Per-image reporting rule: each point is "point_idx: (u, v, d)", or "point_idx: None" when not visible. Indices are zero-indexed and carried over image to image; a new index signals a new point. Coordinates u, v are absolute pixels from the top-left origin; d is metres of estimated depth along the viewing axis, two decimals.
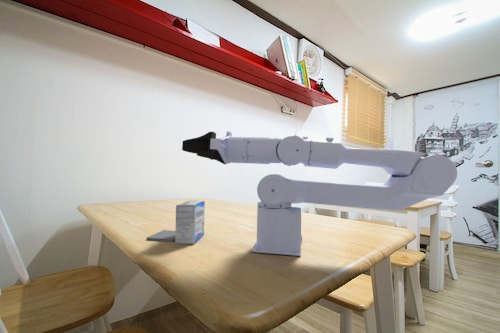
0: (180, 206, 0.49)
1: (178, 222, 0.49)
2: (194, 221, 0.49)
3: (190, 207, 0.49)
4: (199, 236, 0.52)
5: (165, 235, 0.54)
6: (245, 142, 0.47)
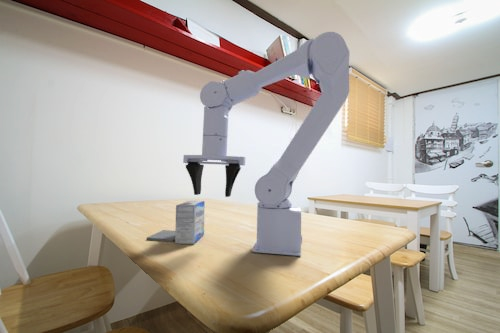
0: (180, 206, 0.49)
1: (178, 222, 0.49)
2: (194, 221, 0.49)
3: (190, 207, 0.49)
4: (199, 236, 0.52)
5: (165, 235, 0.54)
6: None
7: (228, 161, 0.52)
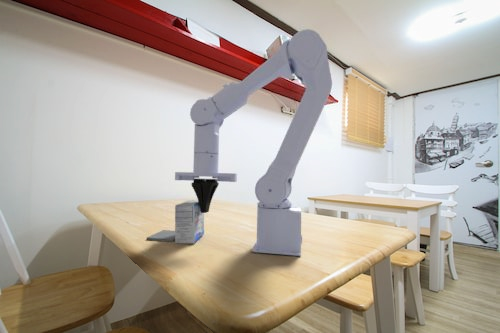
0: (179, 206, 0.49)
1: (178, 222, 0.49)
2: (193, 221, 0.49)
3: (189, 206, 0.49)
4: (199, 235, 0.52)
5: (165, 235, 0.54)
6: None
7: (219, 178, 0.52)
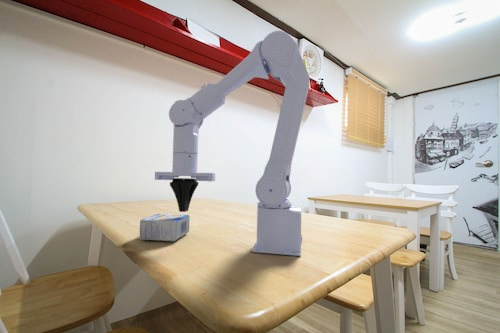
0: (140, 234, 0.50)
1: (155, 236, 0.50)
2: (155, 221, 0.50)
3: (141, 224, 0.50)
4: (180, 217, 0.53)
5: None
6: None
7: (198, 177, 0.53)
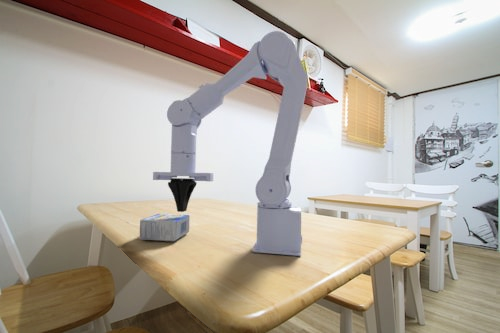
0: (140, 234, 0.50)
1: (155, 236, 0.50)
2: (155, 221, 0.50)
3: (141, 224, 0.50)
4: (180, 217, 0.53)
5: None
6: None
7: (196, 177, 0.53)
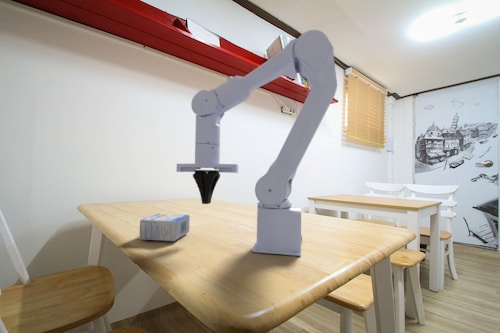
0: (140, 234, 0.50)
1: (155, 236, 0.50)
2: (155, 221, 0.50)
3: (141, 224, 0.50)
4: (180, 217, 0.53)
5: None
6: None
7: (221, 169, 0.52)
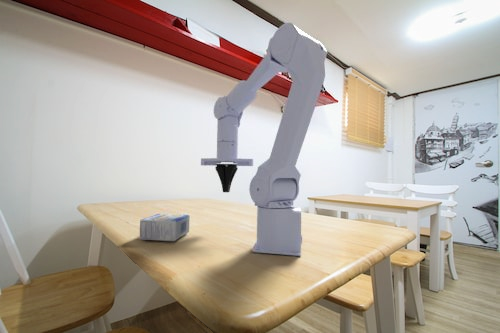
0: (140, 234, 0.50)
1: (155, 236, 0.50)
2: (155, 221, 0.50)
3: (141, 224, 0.50)
4: (180, 217, 0.53)
5: None
6: None
7: (239, 163, 0.62)
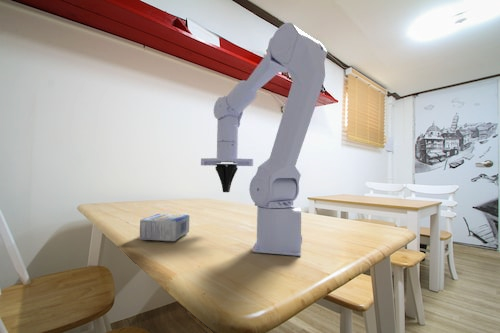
0: (140, 234, 0.50)
1: (155, 236, 0.50)
2: (155, 221, 0.50)
3: (141, 224, 0.50)
4: (180, 217, 0.53)
5: None
6: None
7: (239, 163, 0.62)
